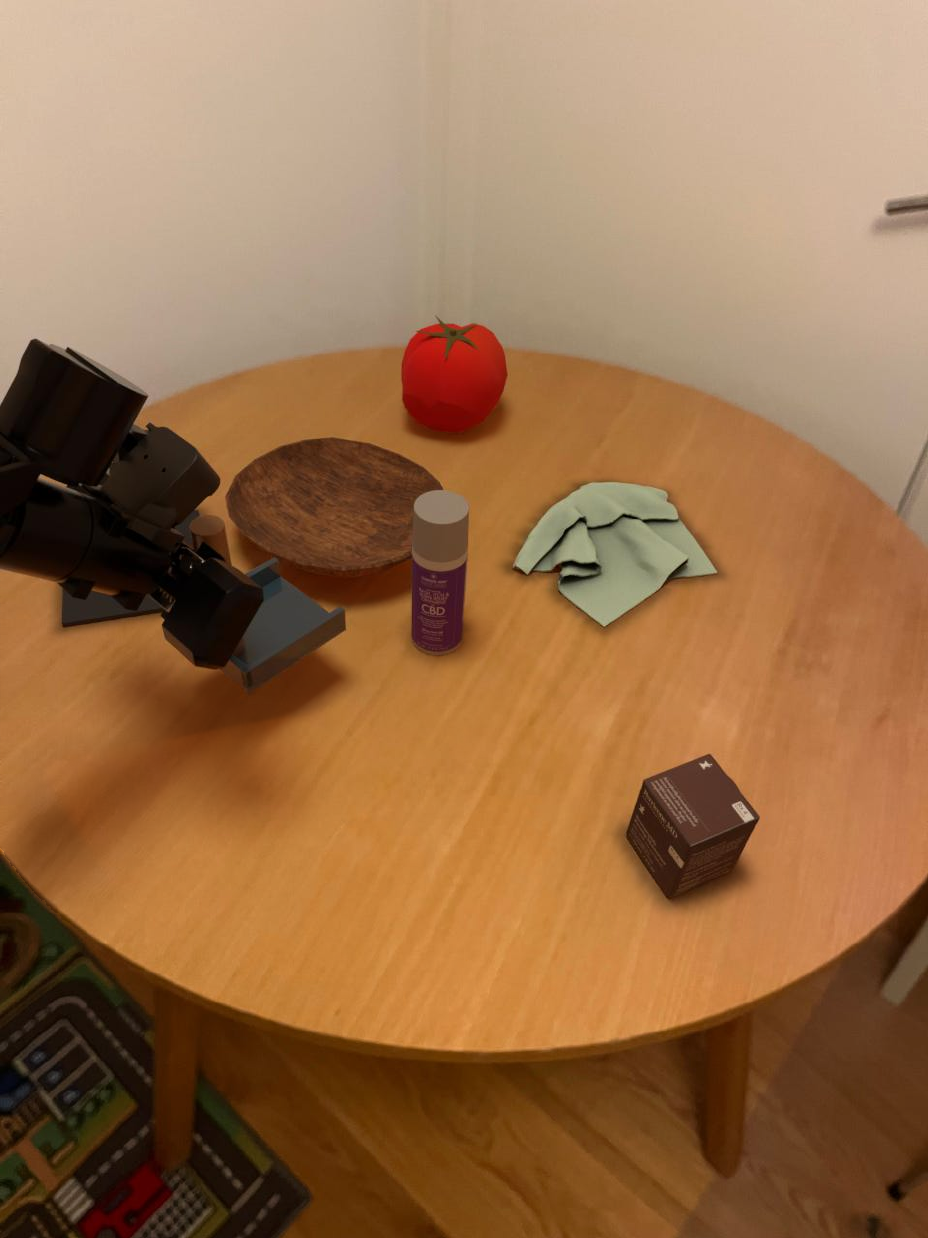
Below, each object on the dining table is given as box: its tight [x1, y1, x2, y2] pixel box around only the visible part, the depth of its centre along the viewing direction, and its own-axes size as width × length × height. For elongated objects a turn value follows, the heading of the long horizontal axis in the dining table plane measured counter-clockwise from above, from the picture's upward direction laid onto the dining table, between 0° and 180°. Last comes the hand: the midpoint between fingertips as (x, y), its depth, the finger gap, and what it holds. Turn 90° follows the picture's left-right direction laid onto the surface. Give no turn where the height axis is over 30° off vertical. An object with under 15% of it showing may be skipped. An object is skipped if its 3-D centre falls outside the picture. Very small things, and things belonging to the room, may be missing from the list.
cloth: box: [512, 481, 718, 628], centre depth 93 cm, size 20×22×2 cm
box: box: [625, 753, 761, 899], centre depth 66 cm, size 6×6×7 cm
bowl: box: [224, 436, 444, 578], centre depth 92 cm, size 20×22×5 cm
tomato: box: [400, 315, 509, 434], centre depth 106 cm, size 12×13×12 cm
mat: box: [61, 509, 200, 628], centre depth 89 cm, size 13×14×1 cm
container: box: [411, 489, 470, 656], centre depth 79 cm, size 5×5×15 cm
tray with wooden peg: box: [190, 514, 347, 695], centre depth 71 cm, size 10×9×13 cm
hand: (233, 584), depth 69 cm, fingers closed on tray with wooden peg, 2 cm apart
